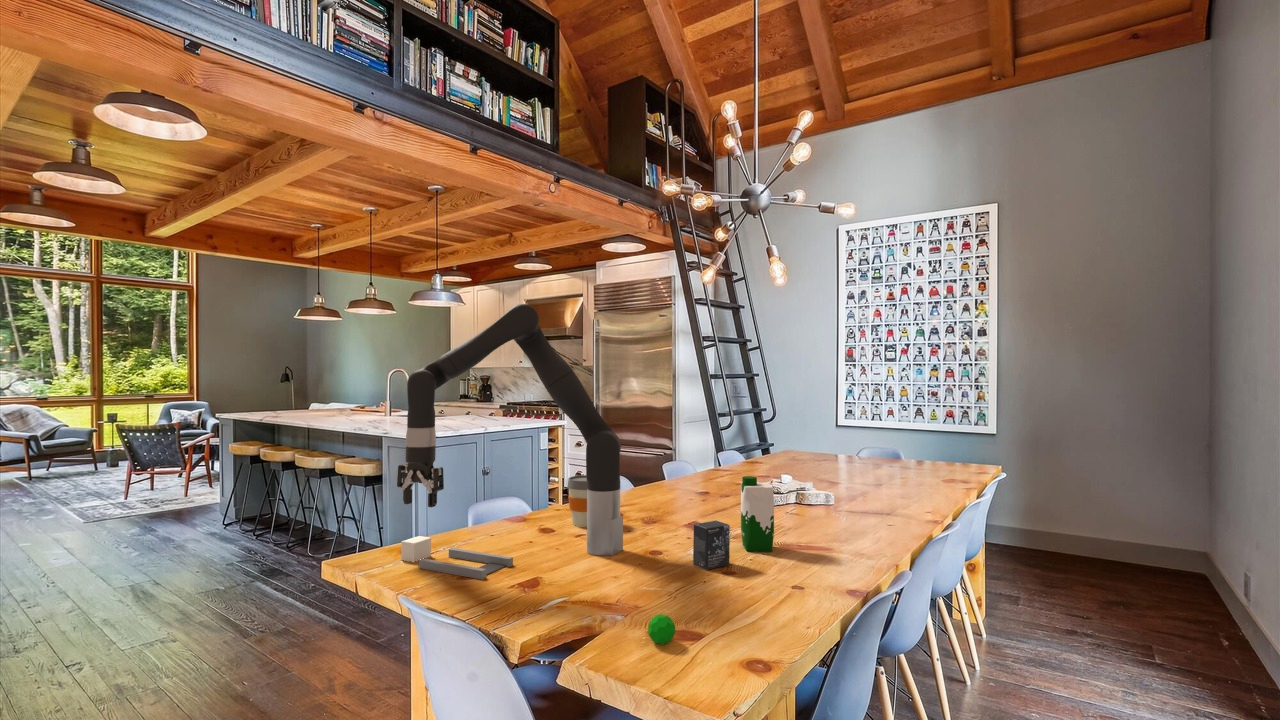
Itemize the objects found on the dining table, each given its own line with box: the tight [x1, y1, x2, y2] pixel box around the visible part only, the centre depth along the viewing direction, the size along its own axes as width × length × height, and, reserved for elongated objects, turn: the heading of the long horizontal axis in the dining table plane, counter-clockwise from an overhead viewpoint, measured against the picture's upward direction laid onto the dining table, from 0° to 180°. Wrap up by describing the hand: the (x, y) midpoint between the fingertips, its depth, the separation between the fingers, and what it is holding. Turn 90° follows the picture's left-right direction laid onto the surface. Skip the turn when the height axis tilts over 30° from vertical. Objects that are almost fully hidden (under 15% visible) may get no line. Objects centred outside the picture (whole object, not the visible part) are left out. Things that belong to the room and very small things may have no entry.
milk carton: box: [740, 475, 775, 553], centre depth 169 cm, size 9×9×20 cm
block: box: [400, 535, 432, 563], centre depth 160 cm, size 4×6×5 cm
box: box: [692, 520, 731, 571], centre depth 154 cm, size 8×6×11 cm
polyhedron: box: [647, 614, 676, 646], centre depth 109 cm, size 5×5×5 cm
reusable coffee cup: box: [566, 474, 587, 528], centre depth 197 cm, size 13×13×15 cm
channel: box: [418, 547, 514, 580], centre depth 152 cm, size 20×12×2 cm, turn 65°
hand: (419, 505), depth 160 cm, fingers open, 8 cm apart
